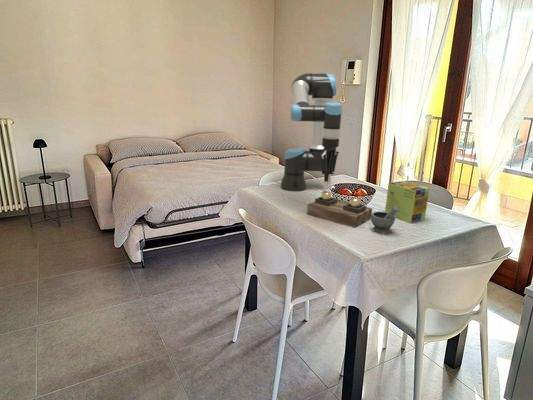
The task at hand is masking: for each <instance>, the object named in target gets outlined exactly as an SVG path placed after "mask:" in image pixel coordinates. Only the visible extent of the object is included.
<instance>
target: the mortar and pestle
mask: <svg viewBox="0 0 533 400" xmlns="http://www.w3.org/2000/svg"><path fill="white" fill-rule="evenodd" d="M398 211H399V209H398V208H397V207H395V206H393V207H392V210H391V211H390V212H389V213H387V212H385V211H374V212H373V211H372V214H371V219H370V220H371V223H372V225H373V226H374V227H373V230H374V231H375V232H376V233H379V234H388V233H389V232H390V229H391V228H392V226H393V225H394V224H395V221H396V218H395V217H396V216H394V215H395V214H396V212H398Z"/></svg>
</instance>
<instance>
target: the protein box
mask: <svg viewBox="0 0 533 400" xmlns="http://www.w3.org/2000/svg"><path fill="white" fill-rule="evenodd" d="M430 190H431V189H430V187H428V186H424V185H420V184H417V183H412V182H408V181H405V180H401V181H394V182H389V183H388V187H387V193H386V194H387V195H386V200H385V201H386V202H385V207H384V208H385V209H384V212H387V213H389V212H390V211H391V210H392V207H393V206H395V207H397V208H398V209H399V211H398V212H396V214H395V215H394V216H396V217H395V219H398V220H401V221H405V222H407V223H409V224H413V223H417V222H420V221H424V220H425V219H426V213H427V207H428V200H429V193H430Z"/></svg>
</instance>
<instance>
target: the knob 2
mask: <svg viewBox="0 0 533 400" xmlns="http://www.w3.org/2000/svg"><path fill="white" fill-rule="evenodd" d="M349 203H350V207H353V208H357V209H358V208H360V204H361V198H359V197H351V198H350V201H349Z"/></svg>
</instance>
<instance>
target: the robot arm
mask: <svg viewBox="0 0 533 400" xmlns="http://www.w3.org/2000/svg"><path fill="white" fill-rule="evenodd" d="M291 83H292V84H291V87H290V91H291V94H292V95H293V104H292V105H291V106H290V120H291V121H293V122H312V123H313V124H312V141H311V142H312V143H311V145H310V146H309V148H308V150H306V148H305V147H294V148H288V149H286V151H285V154H284V170H283V171H284V175H283V177H282V180H281V181H280V182H281V183H280V188H281V189H282V190H285V191H291V192H300V191H304V190H306V189H307V181H306V178H305V171H306V172H321V174H323V175H324V178H323V179H324V180H323V181H324V182H323V188H324V189H330V188H331V182H332V181H331V180H332V175H334V174H335V170H336V166H337V165H336V164H337V160H338V156H339V151H337V148H338V147H339V146H340V145H339V144H340V137H341V136H340V134H341V122H342V113H343V110H342V109H343V105H342V103H341V102H332V101H333V99H334V97H335V96H336V95H337V79H336V76H335V75H334V74H331V73H310V72H308V73H302V74H300V75H299V76H297V77H296V78H294V80H293V81H292V82H291ZM309 96H311V99H312V100H313V102H314V105H313V104H310V98H309Z"/></svg>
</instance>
